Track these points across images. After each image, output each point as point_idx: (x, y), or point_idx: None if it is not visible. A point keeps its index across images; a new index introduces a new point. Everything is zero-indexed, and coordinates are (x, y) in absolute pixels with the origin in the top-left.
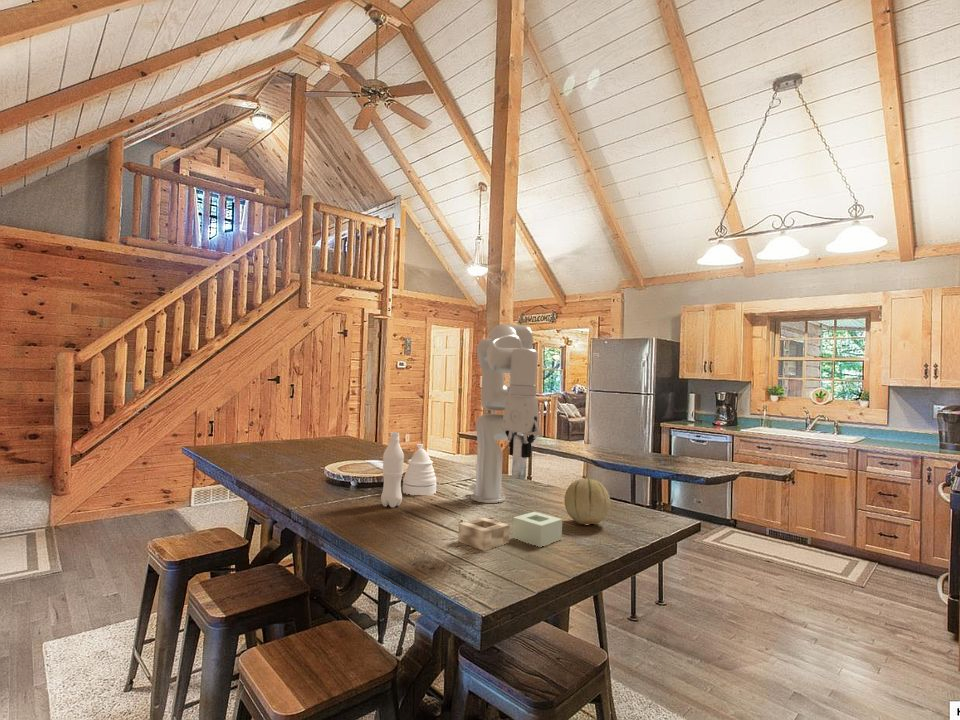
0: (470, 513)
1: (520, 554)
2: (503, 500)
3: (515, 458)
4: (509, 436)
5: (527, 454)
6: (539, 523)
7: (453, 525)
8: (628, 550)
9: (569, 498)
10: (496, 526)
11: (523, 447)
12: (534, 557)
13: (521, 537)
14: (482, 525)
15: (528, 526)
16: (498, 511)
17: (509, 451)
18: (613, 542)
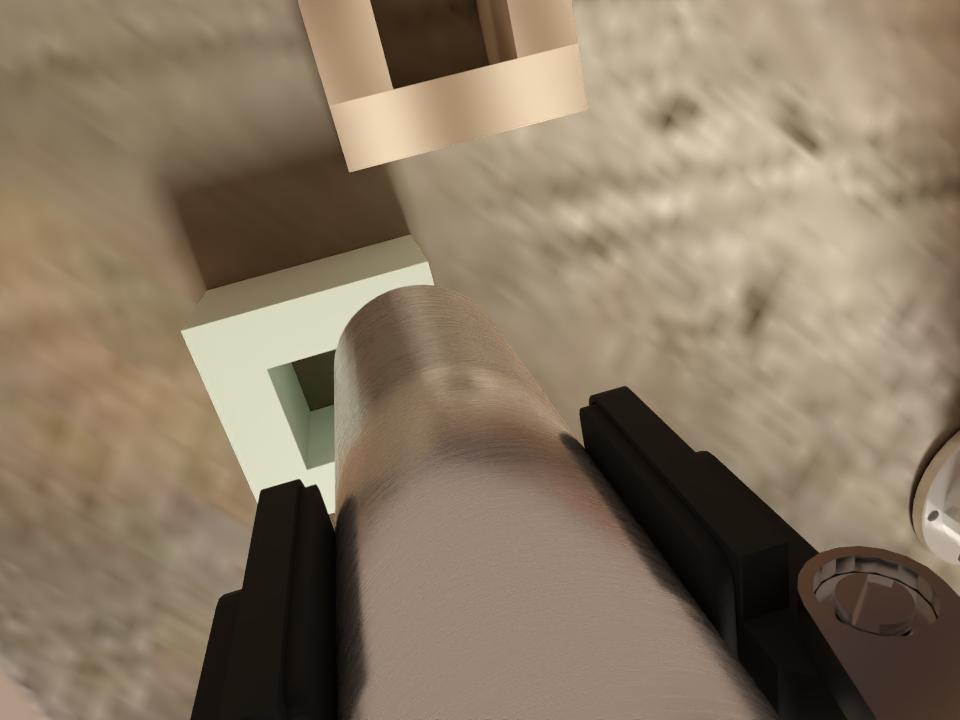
0: (873, 267)
1: (138, 103)
2: (917, 533)
3: (422, 388)
4: (941, 651)
5: (234, 594)
6: (234, 346)
7: (767, 36)
8: (25, 672)
9: None
10: (355, 56)
11: (243, 626)
12: (61, 152)
13: (346, 256)
14: (507, 48)
15: (294, 290)
16: (814, 425)
17: (645, 409)
18: (159, 671)
